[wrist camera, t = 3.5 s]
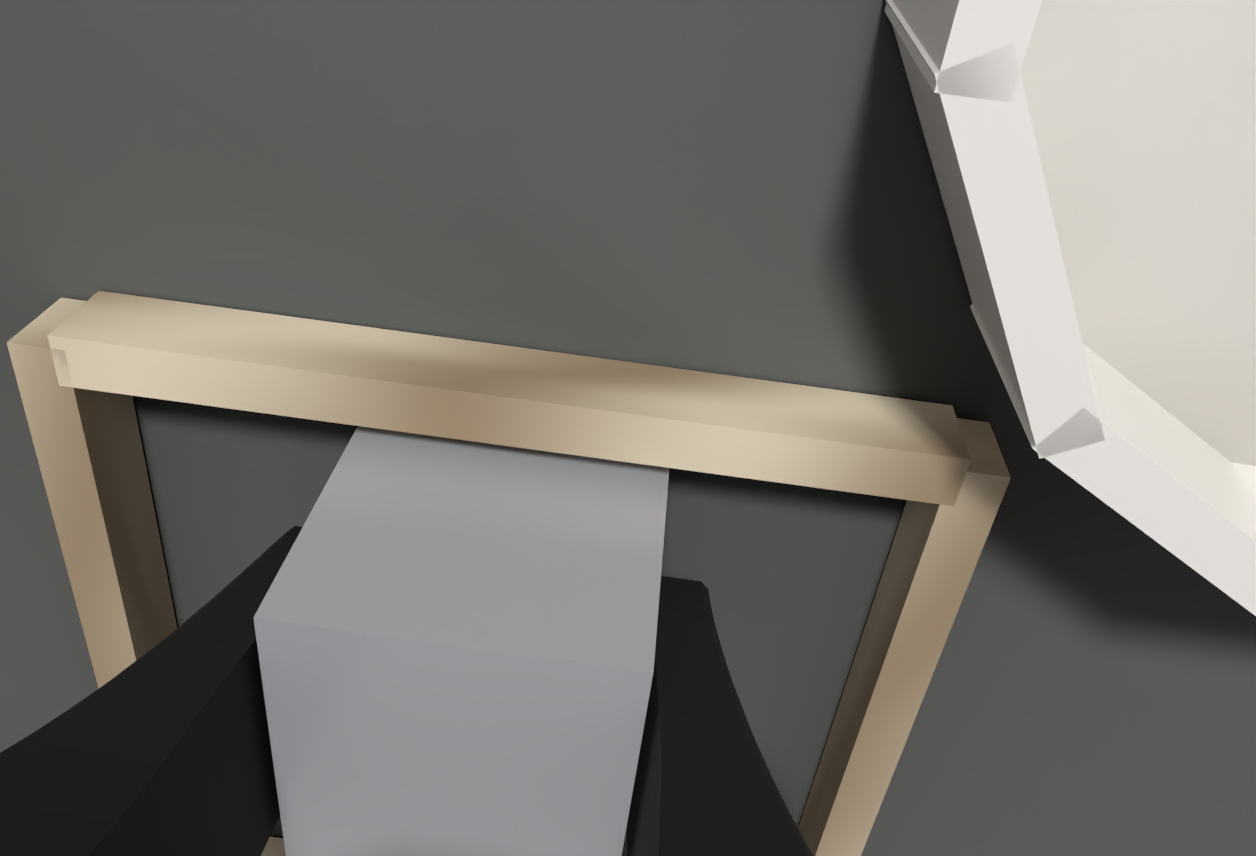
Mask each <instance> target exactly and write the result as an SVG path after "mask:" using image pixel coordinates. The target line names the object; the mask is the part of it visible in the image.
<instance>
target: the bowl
mask: <svg viewBox="0 0 1256 856" xmlns="http://www.w3.org/2000/svg"><path fill="white" fill-rule="evenodd" d="M885 1H886V7H885V13H886V15H887V16H888V18H889V20H890V21H891V23H892V25H893V29H894V32H895V36H896V39H897V43H898V46H899V50H900V53H901V57H902V60H903V64H904V67H905V71H906V74H907V78H908V81H909V85H910V88H911V92H912V95H913V99H914V102H915V106H916V109H917V113H918V116H919V120H920V123H921V126H922V130H923V133H924V137H925V140H926V144H927V147H928V151H929V154H930V158H931V161H932V165H933V168H934V172H935V175H936V179H937V182H938V186H939V189H940V193H941V196H942V200H943V203H944V207H945V210H946V214H947V217H948V221H949V224H950V228H951V231H952V235H953V238H954V241H955V245H956V248H957V252H958V255H959V259H960V262H961V266H962V269H963V273H964V276H965V280H966V283H967V287H968V290H969V294H970V297H971V301H972V305H971V306H970V308H971V311H972V313H973V315H974V317H975V320H976V322H977V324H978V326H979V329H980V331H981V333H982V335H983V338H984V340H985V342H986V345H987V347H988V349H989V351H990V354H991V356H992V358H993V360H994V363H995V365H996V367H997V370H998V372H999V374H1000V376H1001V379H1002V381H1003V383H1004V385H1005V388H1006V390H1007V392H1008V395H1009V397H1010V399H1011V401H1012V404H1013V406H1014V408H1015V410H1016V413H1017V415H1018V417H1019V420H1020V422H1021V424H1022V426H1023V429H1024V431H1025V433H1026V435H1027V438H1028V440H1029V442H1030V445H1031V447H1032V449H1033V450H1035V451H1036V452H1037V454H1038V457H1039V459H1041V458H1045V459H1047V460H1048V461H1049V462H1051V463H1052V464H1053V465H1055V466H1056V467H1057V468H1059V469H1060V470H1061V471H1063V472H1064V473H1065V474H1067V475H1068V476H1069V477H1071V478H1072V479H1073V480H1075V481H1076V482H1077V483H1079V484H1080V485H1081V486H1083V487H1084V488H1085V489H1087V490H1088V491H1089V492H1091V493H1092V494H1093V495H1095V496H1096V497H1097V498H1099V499H1100V500H1101V501H1103V502H1104V503H1105V504H1107V505H1108V506H1109V507H1111V508H1112V509H1113V510H1115V511H1116V512H1117V513H1119V514H1120V515H1121V516H1123V517H1124V518H1125V519H1127V520H1128V521H1129V522H1131V523H1132V524H1133V525H1135V526H1136V527H1137V528H1139V529H1140V530H1141V531H1143V532H1144V533H1145V534H1147V535H1148V536H1149V537H1151V538H1152V539H1153V540H1155V541H1156V542H1157V543H1159V544H1160V545H1161V546H1163V547H1164V548H1165V549H1167V550H1168V551H1169V552H1171V553H1172V554H1173V555H1175V556H1176V557H1177V558H1179V559H1180V560H1181V561H1183V562H1184V563H1185V564H1187V565H1188V566H1189V567H1191V568H1192V569H1193V570H1195V571H1196V572H1197V573H1199V574H1200V575H1201V576H1203V577H1204V578H1205V579H1207V580H1208V581H1209V582H1211V583H1212V584H1213V585H1215V586H1216V587H1217V588H1219V589H1220V590H1221V591H1223V592H1224V593H1225V594H1227V595H1228V596H1229V597H1231V598H1232V599H1233V600H1235V601H1236V602H1237V603H1239V604H1240V605H1241V606H1243V607H1244V608H1245V609H1247V610H1248V611H1249V612H1251V613H1252V614H1253V615H1255V616H1256V0H885Z"/></svg>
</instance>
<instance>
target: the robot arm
mask: <svg viewBox="0 0 1256 856" xmlns="http://www.w3.org/2000/svg"><path fill="white" fill-rule="evenodd" d="M302 528H303V527H299V526H294V527H293V528H292V529H290V530H289V531H287V532H286V533H285V534H284V535H283V536H282V537H281V538H280V539H278V540H277V541H276V542H275V543H274V544H273V545H272V546H271V547H270V548H268V549H267V550H266V551H265V552H264V553H263V554H262V555H261V556H260V557H259V558H257V559H256V560H255V561H254V562H253V563H252V564H251V565H250V566H249V567H248V568H246V569H245V570H244V571H243V572H242V573H241V574H240V575H239V576H238V577H236V578H235V579H234V580H233V581H232V582H231V583H230V584H228V585H227V586H226V587H225V588H224V589H223V590H222V591H221V592H219V593H218V594H217V595H216V596H215V597H214V598H212V599H211V600H210V601H209V602H208V603H207V604H205V605H204V606H203V607H202V608H201V609H199V610H198V611H197V612H196V613H195V614H193V615H192V616H191V617H190V618H189V619H188V620H186V621H185V622H184V623H183V624H182V625H180V626H179V627H178V628H177V629H176V630H175V631H173V632H172V633H171V634H170V635H168V636H167V637H166V638H165V639H163V640H162V641H161V642H160V643H158V644H157V645H156V646H154V647H153V648H152V649H151V650H149V651H148V652H147V653H145V654H144V655H143V656H141V657H140V658H139V659H137V660H136V661H135V662H134V663H132V664H131V665H130V666H128V667H127V668H126V669H124V670H123V671H122V672H121V673H119V674H118V675H117V676H115V677H114V678H113V679H111V680H110V681H109V682H107V683H106V684H105V685H103V686H102V687H100V688H99V689H97V690H96V691H95V692H93V693H92V694H90V695H89V696H88V697H86V698H85V699H83V700H82V701H80V702H79V703H78V704H76V705H75V706H73V707H72V708H70V709H69V710H67V711H66V712H64V713H63V714H61V715H60V716H58V717H57V718H55V719H54V720H52V721H51V722H49V723H48V724H46V725H45V726H43V727H41V728H40V729H38V730H37V731H35V732H34V733H32V734H31V735H29V736H27V737H26V738H24V739H23V740H21V741H19V742H18V743H16V744H14V745H13V746H11V747H9V748H8V749H6V750H4V751H3V752H1V753H0V856H261V854H262V852H263V850H264V848H265V846H266V844H267V842H268V839H269V837H270V835H271V833H272V831H273V829H274V827H275V824H276V822H277V820H278V818H279V816H280V810H279V802H278V795H277V788H276V780H275V773H274V765H273V758H272V751H271V743H270V736H269V729H268V721H267V714H266V707H265V699H264V692H263V685H262V677H261V670H260V662H259V655H258V648H257V640H256V633H255V626H254V618H253V617H254V616H255V614H256V612H257V610H258V608H259V606H260V605H261V603H262V601H263V599H264V597H265V595H266V594H267V592H268V590H269V588H270V586H271V584H272V583H273V581H274V579H275V577H276V575H277V573H278V572H279V570H280V568H281V566H282V564H283V562H284V561H285V559H286V557H287V555H288V553H289V551H290V550H291V548H292V546H293V544H294V542H295V540H296V539H297V537H298V535H299V533H300V531H301V529H302ZM627 856H813V854H812V853H811V851H810V849H809V848H808V846H807V844H806V842H805V840H804V839H803V837H802V835H801V833H800V831H799V829H798V828H797V826H796V824H795V822H794V820H793V818H792V817H791V815H790V813H789V811H788V809H787V807H786V805H785V803H784V801H783V799H782V797H781V795H780V793H779V791H778V789H777V787H776V785H775V783H774V781H773V779H772V777H771V774H770V772H769V770H768V768H767V766H766V763H765V761H764V759H763V757H762V755H761V752H760V750H759V748H758V746H757V743H756V741H755V739H754V736H753V734H752V731H751V729H750V727H749V724H748V722H747V719H746V716H745V714H744V711H743V708H742V706H741V703H740V701H739V698H738V695H737V693H736V690H735V687H734V685H733V682H732V679H731V676H730V673H729V670H728V667H727V664H726V661H725V658H724V654H723V651H722V648H721V645H720V641H719V638H718V634H717V630H716V626H715V622H714V618H713V614H712V609H711V604H710V598H709V591H708V589H707V588H706V586H705V585H704V584H703V583H702V582H700V581H692V580H685V579H678V578H671V577H663V576H661V583H660V596H659V609H658V621H657V634H656V647H655V660H654V672H653V678H652V684H651V689H650V695H649V701H648V707H647V712H646V718H645V724H644V730H643V735H642V741H641V747H640V753H639V758H638V764H637V770H636V776H635V781H634V787H633V793H632V799H631V804H630V810H629V816H628V822H627Z"/></svg>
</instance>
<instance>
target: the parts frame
mask: <svg viewBox="0 0 1256 856" xmlns="http://www.w3.org/2000/svg"><path fill="white" fill-rule="evenodd" d="M7 346H8V349H9V353H10V357H11V361H12V364H13V368H14V372H15V376H16V379H17V383H18V387H19V391H20V394H21V398H22V402H23V406H24V409H25V413H26V417H27V421H28V425H29V428H30V432H31V436H32V440H33V443H34V447H35V451H36V455H37V458H38V462H39V466H40V470H41V473H42V477H43V481H44V485H45V488H46V492H47V496H48V500H49V503H50V507H51V511H52V515H53V519H54V522H55V526H56V530H57V534H58V537H59V541H60V545H61V549H62V552H63V556H64V560H65V564H66V567H67V571H68V575H69V579H70V582H71V586H72V590H73V594H74V598H75V601H76V605H77V609H78V613H79V616H80V620H81V624H82V628H83V631H84V635H85V639H86V643H87V646H88V650H89V654H90V658H91V661H92V665H93V669H94V673H95V676H96V680H97V684H98V688H100V687H102V686H103V685H105V684H106V683H107V682H109V681H110V680H111V679H113V678H114V677H115V676H117V675H118V674H119V673H121V672H122V671H123V670H124V669H126V668H127V667H128V666H130V665H131V664H132V663H134V662H135V661H136V660H137V659H139V658H140V657H141V656H143V655H144V654H145V653H147V652H148V651H149V650H151V649H152V648H153V647H154V646H156V645H157V644H158V643H160V642H161V641H162V640H163V639H165V638H166V637H167V636H168V635H170V634H171V633H172V632H173V631H175V630H176V629H177V624H176V619H175V613H174V608H173V603H172V598H171V593H170V588H169V582H168V577H167V572H166V567H165V562H164V557H163V551H162V546H161V541H160V536H159V531H158V526H157V521H156V515H155V510H154V505H153V500H152V495H151V490H150V484H149V479H148V474H147V469H146V464H145V459H144V453H143V448H142V443H141V438H140V433H139V428H138V422H137V417H136V412H135V407H134V402H133V397H132V396H139V397H147V398H154V399H162V400H169V401H177V402H184V403H191V404H199V405H206V406H214V407H221V408H228V409H236V410H243V411H251V412H258V413H266V414H273V415H280V416H288V417H295V418H303V419H310V420H317V421H325V422H332V423H340V424H347V425H355V426H362V427H369V428H377V429H384V430H392V431H399V432H406V433H414V434H421V435H429V436H436V437H444V438H451V439H458V440H466V441H473V442H481V443H488V444H496V445H503V446H510V447H518V448H525V449H533V450H540V451H547V452H555V453H562V454H570V455H577V456H585V457H592V458H599V459H607V460H614V461H622V462H629V463H636V464H644V465H651V466H659V467H666V468H674V469H681V470H688V471H696V472H703V473H711V474H718V475H725V476H733V477H740V478H748V479H755V480H763V481H770V482H777V483H785V484H792V485H800V486H807V487H814V488H822V489H829V490H837V491H844V492H852V493H859V494H866V495H874V496H881V497H889V498H896V499H903V500H907V501H906V504H905V507H904V510H903V513H902V516H901V519H900V522H899V525H898V528H897V531H896V534H895V537H894V540H893V543H892V546H891V549H890V552H889V555H888V558H887V561H886V564H885V567H884V570H883V574H882V577H881V580H880V583H879V586H878V589H877V592H876V595H875V598H874V601H873V604H872V607H871V610H870V613H869V616H868V619H867V622H866V625H865V628H864V631H863V634H862V637H861V640H860V643H859V646H858V649H857V652H856V655H855V658H854V661H853V664H852V667H851V670H850V673H849V676H848V679H847V682H846V685H845V688H844V691H843V694H842V697H841V700H840V703H839V706H838V709H837V712H836V715H835V718H834V722H833V725H832V728H831V731H830V734H829V737H828V740H827V743H826V746H825V749H824V752H823V755H822V758H821V761H820V764H819V767H818V770H817V773H816V776H815V779H814V782H813V785H812V788H811V791H810V794H809V797H808V800H807V803H806V806H805V809H804V812H803V815H802V818H801V821H800V824H799V827H798V829H799V831H800V833H801V835H802V837H803V839H804V840H805V842H806V844H807V846H808V848H809V849H810V851H811V853H812V854H813V856H861V854H862V851H863V849H864V846H865V844H866V841H867V839H868V836H869V834H870V831H871V829H872V826H873V824H874V821H875V819H876V816H877V813H878V811H879V808H880V806H881V803H882V801H883V798H884V796H885V793H886V791H887V788H888V786H889V783H890V781H891V778H892V776H893V773H894V771H895V768H896V766H897V763H898V761H899V758H900V756H901V753H902V751H903V748H904V746H905V743H906V740H907V738H908V735H909V733H910V730H911V728H912V725H913V723H914V720H915V718H916V715H917V713H918V710H919V708H920V705H921V703H922V700H923V698H924V695H925V693H926V690H927V688H928V685H929V683H930V680H931V678H932V675H933V673H934V670H935V667H936V665H937V662H938V660H939V657H940V655H941V652H942V650H943V647H944V645H945V642H946V640H947V637H948V635H949V632H950V630H951V627H952V625H953V622H954V620H955V617H956V615H957V612H958V610H959V607H960V605H961V602H962V600H963V597H964V594H965V592H966V589H967V587H968V584H969V582H970V579H971V577H972V574H973V572H974V569H975V567H976V564H977V562H978V559H979V557H980V554H981V552H982V549H983V547H984V544H985V542H986V539H987V537H988V534H989V532H990V529H991V527H992V524H993V521H994V519H995V516H996V514H997V511H998V509H999V506H1000V504H1001V501H1002V499H1003V496H1004V494H1005V491H1006V489H1007V486H1008V484H1009V481H1010V479H1011V477H1010V474H1009V472H1008V469H1007V466H1006V464H1005V461H1004V459H1003V456H1002V454H1001V451H1000V449H999V446H998V444H997V441H996V438H995V436H994V433H993V431H992V428H991V426H990V423H989V422H983V421H976V420H968V419H961V418H957V417H956V414H955V412H954V409H953V406H952V405H945V404H938V403H930V402H923V401H915V400H908V399H901V398H893V397H886V396H878V395H871V394H863V393H856V392H848V391H841V390H833V389H826V388H819V387H811V386H804V385H796V384H789V383H781V382H774V381H766V380H759V379H752V378H744V377H737V376H729V375H722V374H714V373H707V372H699V371H692V370H684V369H677V368H670V367H662V366H655V365H647V364H640V363H632V362H625V361H617V360H610V359H603V358H595V357H588V356H580V355H573V354H565V353H558V352H550V351H543V350H535V349H528V348H521V347H513V346H506V345H498V344H491V343H483V342H476V341H468V340H461V339H453V338H446V337H439V336H431V335H424V334H416V333H409V332H401V331H394V330H386V329H379V328H372V327H364V326H357V325H349V324H342V323H334V322H327V321H319V320H312V319H304V318H297V317H290V316H282V315H275V314H267V313H260V312H252V311H245V310H237V309H230V308H223V307H215V306H208V305H200V304H193V303H185V302H178V301H170V300H163V299H155V298H148V297H141V296H133V295H126V294H118V293H111V292H103V291H98V292H97V293H96V294H95V295H94V296H92V297H91V298H90V299H89V300H88V301H82V300H75V299H67V298H60V299H59V300H58V301H57V302H55V303H54V304H53V305H52V306H50V307H49V308H48V309H47V310H46V311H44V312H43V313H42V314H41V315H39V316H38V317H37V318H36V319H35V320H33V321H32V322H31V323H30V324H29V325H27V326H26V327H25V328H24V329H22V330H21V331H20V332H19V333H18V334H16V335H15V336H14V337H13V338H12V339H10V340H9V341H8V342H7ZM261 856H286V854H285V846H284V839H283V838H277V837H269V839H268V842H267V844H266V846H265V848H264V850H263V852H262V854H261Z"/></svg>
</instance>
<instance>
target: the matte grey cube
mask: <svg viewBox="0 0 1256 856" xmlns="http://www.w3.org/2000/svg"><path fill="white" fill-rule="evenodd" d="M668 480H669V468H666V467H659V466H651V465H644V464H636V463H629V462H622V461H614V460H607V459H599V458H592V457H585V456H577V455H570V454H562V453H555V452H547V451H540V450H533V449H525V448H518V447H510V446H503V445H496V444H488V443H481V442H473V441H466V440H458V439H451V438H444V437H436V436H429V435H421V434H414V433H406V432H399V431H392V430H384V429H377V428H369V427H362V426H358V427H357V428H356V430H355V432H354V434H353V436H352V438H351V439H350V441H349V443H348V445H347V447H346V449H345V450H344V452H343V454H342V456H341V458H340V460H339V461H338V463H337V465H336V467H335V469H334V471H333V472H332V474H331V476H330V478H329V480H328V482H327V483H326V485H325V487H324V489H323V491H322V493H321V494H320V496H319V498H318V500H317V502H316V504H315V505H314V507H313V509H312V511H311V513H310V515H309V517H308V518H307V520H306V522H305V524H304V526H303V528H302V529H301V531H300V533H299V535H298V537H297V539H296V540H295V542H294V544H293V546H292V548H291V550H290V551H289V553H288V555H287V557H286V559H285V561H284V562H283V564H282V566H281V568H280V570H279V572H278V573H277V575H276V577H275V579H274V581H273V583H272V584H271V586H270V588H269V590H268V592H267V594H266V595H265V597H264V599H263V601H262V603H261V605H260V606H259V608H258V610H257V612H256V614H255V616H254V617H253V618H254V626H255V633H256V640H257V648H258V655H259V662H260V670H261V677H262V685H263V692H264V699H265V707H266V714H267V721H268V729H269V736H270V743H271V751H272V758H273V765H274V773H275V780H276V788H277V795H278V802H279V810H280V817H281V824H282V832H283V839H284V846H285V854H286V856H622V850H623V844H624V839H625V833H626V827H627V822H628V816H629V810H630V804H631V799H632V793H633V787H634V781H635V776H636V770H637V764H638V758H639V753H640V747H641V741H642V735H643V730H644V724H645V718H646V712H647V707H648V701H649V695H650V689H651V684H652V678H653V672H654V660H655V647H656V634H657V621H658V609H659V596H660V583H661V570H662V557H663V544H664V532H665V519H666V506H667V493H668Z"/></svg>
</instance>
